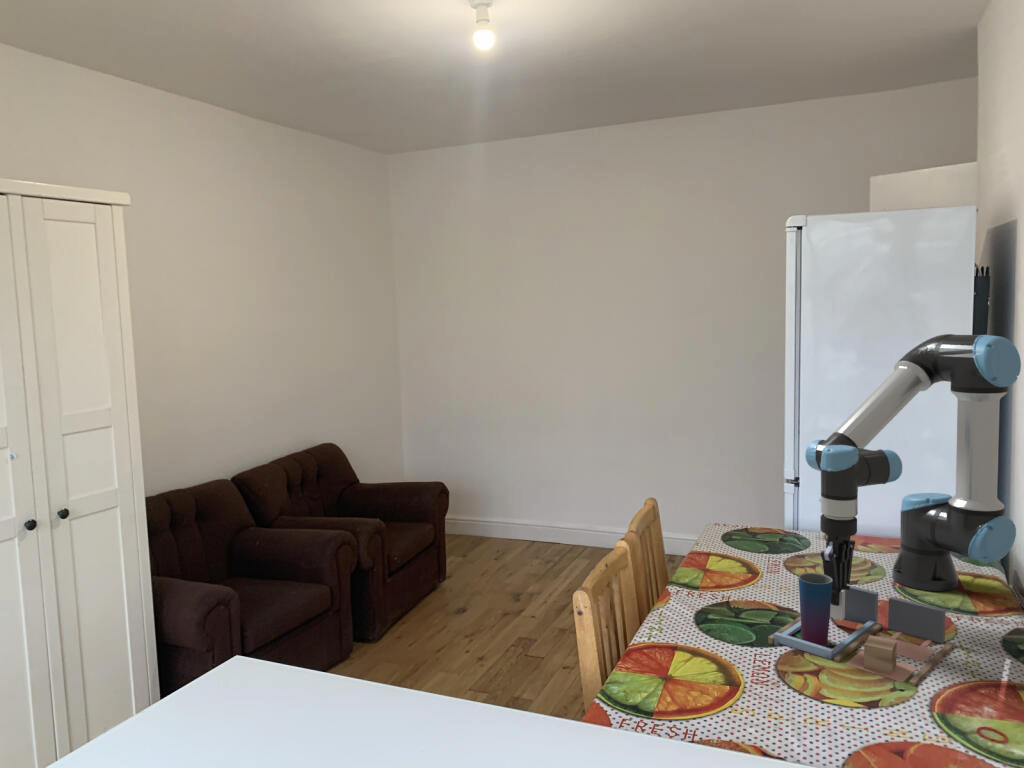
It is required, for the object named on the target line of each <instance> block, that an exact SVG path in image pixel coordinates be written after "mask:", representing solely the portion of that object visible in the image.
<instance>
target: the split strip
mask: <svg viewBox="0 0 1024 768" xmlns="http://www.w3.org/2000/svg"><path fill="white" fill-rule="evenodd" d="M946 610H947V609H944V608H940V607H936V606H932V605H927V604H925V603H924V604H923V603H920V602H915V601H912V600H907V599H904V598H898V597H894V596H890V597H889V598H888V616H887V618H888V619H887V620H888V621H887V623H888V624H887V625H888V626H887V627H888V628H887V630H891V631H894V632H895V633H894V634H892V635H891V637H890V636H886V635H882V634H880V635H878V637H881V638H886V639H890V640H895V641H897V654H896V655H899V656H902V657H906V658H910V659H911V660H912V659H913V660H916V661H919V662H924V663H925V662H926V660H927V659H928V658H929V657H930V656H932V655H933V654H934V652H936V650H935V649H934V648H933V649H932V648H929V647H928V646H929V644H931V643H932V642H935V643H939V644H944V643H945V642H946V638H945V637H946ZM902 634H904V635H905V634H906V635H908V636H913V637H917V638H919V639H920V638H921V639H923V640H925V641H924V642H922V643H921V644H920V645H918V644H915V643H912V642H911V643H910V642H907V641H903V640H901V639H897V638H899V636H900V635H902ZM844 665H847V666H851V667H854V668H856V669H859V670H863V671H865V672H868V673H872V674H876V675H878V676H880V677H884V678H888V679H891V680H894V681H897V682H900V683H904V682H905V681H906V680H907V679H908V678H909V677H910V676H911V675H912V674H913V673H914V672H915V671H916V670H917V669H918V666H917V667H916V666H913V665H910V664H907V663H903V662H900V661H897V660H896V666H895V669H894V671H893V673H892V675H890V674H885V673H881V672H877V671H873V670H869V669H864V650H860V651H858V653H856V654H855V655H854V656H853V657H851V658H850V659H849V660H848V661H847V662H845V663H844Z"/></svg>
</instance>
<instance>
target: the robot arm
mask: <svg viewBox="0 0 1024 768" xmlns="http://www.w3.org/2000/svg"><path fill="white" fill-rule="evenodd" d="M903 355H904V356H902V357H900V359H899V360H898V361H897V362H896V363H895V364H894V365H893V372H892V373H891V374H890V375H889V376H888V377H887V378H886V379H885V380H884V381H883V382H882V383H881V384H880V385H879V386H878V387H877V388H876V389H875V390H874V391H873V392H872V393H871V394H870V395H869V396H868V397H867V398H866V399H865V400H864V401H863V402H862V403H861V404H860V405H859V406H858V407H857V408H856V409H855V410H854V411H853V413H851V414H850V416H849V417H847V418H846V419H845V420H844V422H842V424H841V425H840V426H838V427H837V428H836V430H835V431H834V432H832V433H831V435H829V437H828V438H826V440H825V439H815V440H813V441H811V442H810V443H809V444H808V445H807V447H806V450H805V457H804V458H805V461H806V464H807V465H808V466H809V467H810V468H811V469H814V470H816V471H819V472H820V498H819V500H818V501H819V503H820V512H821V515H820V523H819V524H820V531H821V533H823V534H825V535H826V536H827V538H826V542H825V549H826V550H821V551H820V557H821V560H822V567H823V574H824V575H827V576H829V577H831V578H832V580H833V583H832V595H831V607H830V618H833V619H837V620H839V621H840V620H841V621H844V620H843V619H844V618H845V590H844V589H847V590H849V589H850V586H851V585H849V584H850V583H851V575H852V574H851V573H852V567H853V566H852V565H853V556H854V549H855V545H856V540H854V539H851V537H854V536H855V535H857V533H858V518H857V517H856V516H857V515H858V512H859V511H858V508H859V507H858V503H859V502H858V501H859V499H858V497H859V496H858V495H859V487H868V486H875V485H886V484H888V483H892V482H896V481H897V480H898V479H899V478H900V477H901V475H902V473H903V462H902V459H901V458H900V457H901V456H899V455H898V453H897V452H895V451H894V450H891V449H881V448H879V449H877V450H871V449H867V448H866V447H867V446H868V445H869V444H870V443H871V442H872V441H873V440H874V439H875V437H876V436H878V435H879V433H881V431H883V429H885V427H887V425H888V424H890V422H891V421H892V420H894V418H895V417H896V416H897V415H898V414H899V413H900V412H901V411H902V410H903V409H904V408H905V407H907V405H908V404H910V402H911V401H912V400H913V399H914V398H915V397H916V396H917V395H918V394H919V393H920V392H925V391H927V390H929V388H931V387H932V385H935V384H937V383H939V382H950V392H951V393H952V394H953V395H954V396H955V397H956V398H957V406H956V407H957V408H956V409H957V412H956V413H957V414H956V458H955V459H956V462H955V463H956V465H955V468H956V470H955V494H954V495H953V496H952V495H950V494H948V493H939V492H919V493H911V494H906V495H905V496H904V497H903V498H902V500H901V506H900V510H899V511H900V539H899V541H900V547H899V551H898V554H897V557H896V559H895V561H894V564H893V566H892V573H891V574H892V575H891V576H892V577H891V578H892V579H893V580H894V581H895V582H896V583H898V584H900V585H902V586H905V587H908V588H912V589H917V590H922V591H932V592H945V591H952V590H954V589H956V588H957V587H958V586H959V585H958V584H959V576H958V572H957V570H956V566H955V563H954V560H953V557H952V553H956V554H959V555H961V556H963V557H967V558H970V559H971V560H974V561H981V562H984V563H994V562H998V561H1001V559H1003V558H1004V557H1006V556H1007V554H1008V553H1009V552H1010V551H1011V549H1012V547H1013V546H1014V543H1015V541H1016V536H1017V528H1016V524H1015V523H1014V521H1013V520H1012V519H1011V518H1009V517H1008V516H1005V505H1004V503H1003V502H1002V501H1000V499H999V498H998V475H999V438H1000V437H999V436H1000V435H999V433H1000V405H1001V404H1000V400H1001V398H1003V397H1004V396H1005V395H1006V394H1008V388H1009V386H1012V385H1014V383H1016V382H1017V380H1018V376H1020V373H1021V369H1022V361H1021V355H1020V353H1019V351H1018V349H1017V347H1016V346H1015V345H1014V344H1013V342H1012V341H1011V340H1010V339H1008V338H1006V337H1005V336H999V335H998V336H997V335H990V334H954V333H953V334H952V333H951V334H950V333H949V334H948V333H947V334H946V333H944V334H940V335H936V336H934V337H931V338H928V339H926V340H925V341H923V342H921V343H919V344H918V345H917V346H915V347H913V348H912V349H911V350H909V351H908V352H907V353H906V354H903ZM865 448H866V449H865ZM847 585H849V586H847Z"/></svg>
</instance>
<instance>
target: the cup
mask: <svg viewBox="0 0 1024 768" xmlns="http://www.w3.org/2000/svg"><path fill="white" fill-rule="evenodd" d="M832 583H833V580H832V578H831V577H829V576H827V575H824V573H817V572H804V573H800V574H799V575H798V591H799V593H798V595H799V609H800V611H799V612H800V616H801V629H800V630H801V640H804V641H807V642H811V643H814V644H817V645H820V646H824V647H826V646H827V645H828V639H829V631H830V630H829V628H830V620H831V619H830V618H831V617H830V607H831V595H832Z"/></svg>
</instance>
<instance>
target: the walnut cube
mask: <svg viewBox="0 0 1024 768" xmlns="http://www.w3.org/2000/svg"><path fill="white" fill-rule="evenodd" d="M863 651H864V669H869V670H873V671H877V672H881V673H885V674H890V675H892V673H893V671H894V669H895V666H896V661H897V655H898V654H897V641H895V640H890V639H886V638H881V637H879V636H876V635H869V637H868V639H867V640H866V641H865V642H864V645H863Z"/></svg>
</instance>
